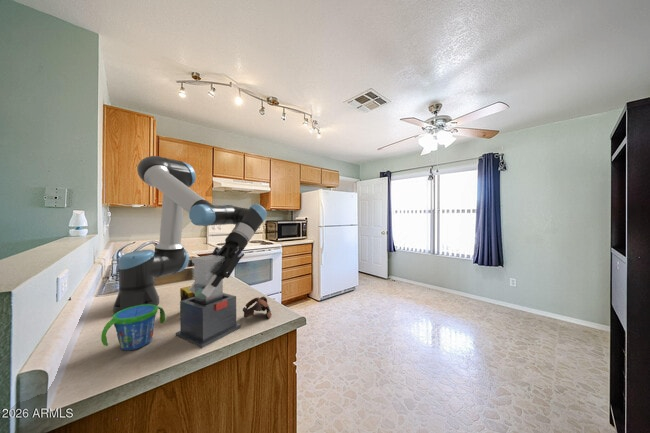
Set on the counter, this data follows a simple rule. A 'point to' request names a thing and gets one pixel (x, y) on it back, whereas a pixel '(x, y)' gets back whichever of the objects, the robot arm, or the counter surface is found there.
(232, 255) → the robot arm
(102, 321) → the counter surface
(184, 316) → the sleeve
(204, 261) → the column
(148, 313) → the snack cup
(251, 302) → the brown curved open arch
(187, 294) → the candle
